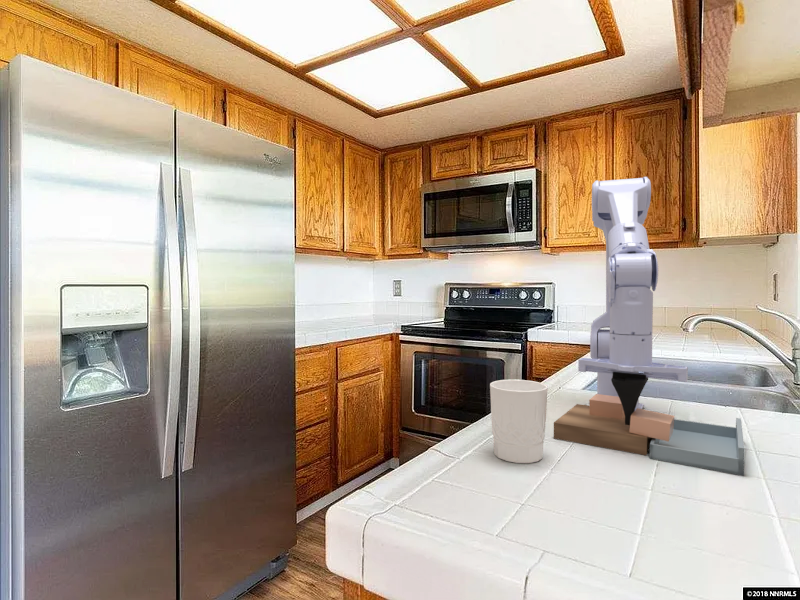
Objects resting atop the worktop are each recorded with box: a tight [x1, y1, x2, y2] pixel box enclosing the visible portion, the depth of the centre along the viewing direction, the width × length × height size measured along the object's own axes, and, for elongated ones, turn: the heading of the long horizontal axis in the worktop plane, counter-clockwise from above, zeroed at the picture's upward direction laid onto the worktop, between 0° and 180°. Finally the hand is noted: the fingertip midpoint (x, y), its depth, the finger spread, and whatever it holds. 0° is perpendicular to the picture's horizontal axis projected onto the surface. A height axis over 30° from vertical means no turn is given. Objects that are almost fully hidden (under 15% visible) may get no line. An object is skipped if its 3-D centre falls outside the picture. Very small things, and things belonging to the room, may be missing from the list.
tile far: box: [588, 393, 625, 419], centre depth 78 cm, size 5×5×2 cm
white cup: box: [489, 379, 549, 464], centre depth 66 cm, size 8×8×10 cm
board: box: [553, 403, 653, 456], centre depth 75 cm, size 14×13×2 cm
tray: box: [649, 417, 745, 477], centre depth 68 cm, size 16×10×4 cm, turn 145°
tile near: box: [629, 408, 676, 441], centre depth 68 cm, size 5×5×2 cm
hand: (629, 423), depth 69 cm, fingers closed
